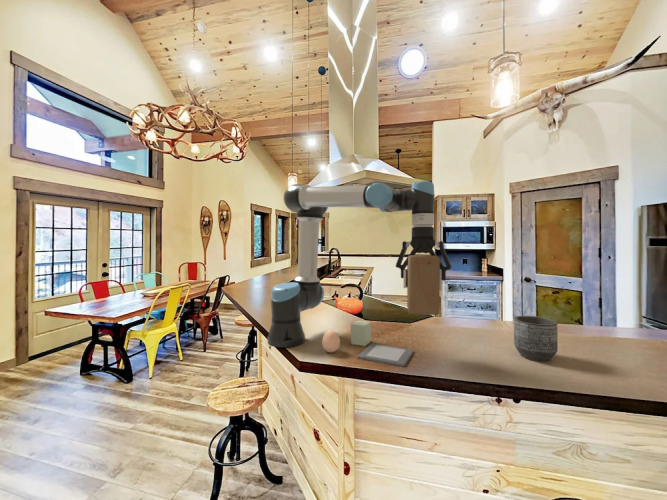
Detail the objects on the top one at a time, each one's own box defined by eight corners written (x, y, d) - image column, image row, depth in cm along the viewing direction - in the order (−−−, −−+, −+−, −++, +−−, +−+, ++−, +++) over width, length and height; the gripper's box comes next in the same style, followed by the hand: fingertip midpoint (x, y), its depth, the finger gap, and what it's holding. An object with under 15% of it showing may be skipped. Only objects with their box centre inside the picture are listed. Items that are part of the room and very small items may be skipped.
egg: (327, 347, 108) (327, 327, 108) (343, 350, 105) (342, 329, 105) (318, 353, 102) (318, 331, 102) (335, 356, 99) (335, 334, 99)
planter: (567, 362, 91) (567, 323, 91) (535, 365, 89) (534, 325, 89) (534, 349, 103) (534, 314, 103) (505, 351, 101) (505, 316, 101)
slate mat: (357, 358, 97) (357, 355, 97) (371, 345, 110) (371, 342, 110) (403, 367, 90) (403, 364, 90) (413, 352, 102) (413, 349, 102)
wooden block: (439, 316, 93) (440, 255, 93) (408, 314, 95) (409, 255, 95) (435, 309, 103) (435, 254, 103) (407, 308, 105) (407, 254, 105)
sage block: (351, 343, 112) (350, 323, 111) (357, 339, 117) (356, 320, 117) (365, 346, 109) (364, 325, 109) (370, 341, 114) (370, 321, 114)
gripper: (386, 227, 101) (386, 287, 101) (458, 224, 90) (458, 292, 90) (392, 228, 107) (392, 285, 108) (460, 226, 96) (459, 289, 97)
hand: (422, 288), depth 99 cm, fingers closed on wooden block, 11 cm apart
